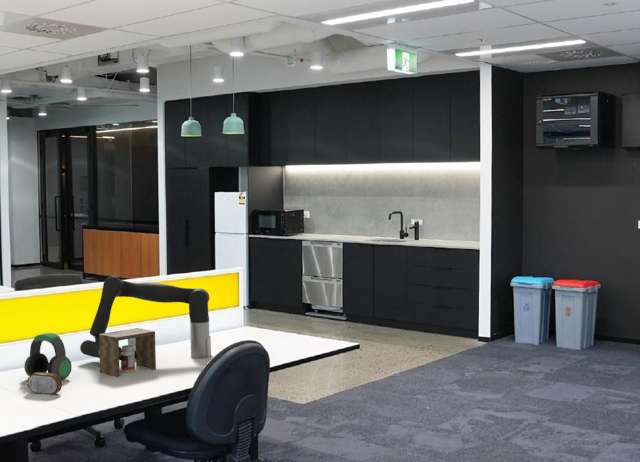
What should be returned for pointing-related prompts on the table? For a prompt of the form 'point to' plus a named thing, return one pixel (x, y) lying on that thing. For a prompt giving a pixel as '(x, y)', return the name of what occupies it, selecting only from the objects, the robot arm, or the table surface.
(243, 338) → the table surface
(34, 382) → the tin
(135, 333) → the tunnel
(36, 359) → the headphones
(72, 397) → the table surface
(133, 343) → the ink box
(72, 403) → the table surface
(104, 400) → the table surface
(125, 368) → the pill bottle
